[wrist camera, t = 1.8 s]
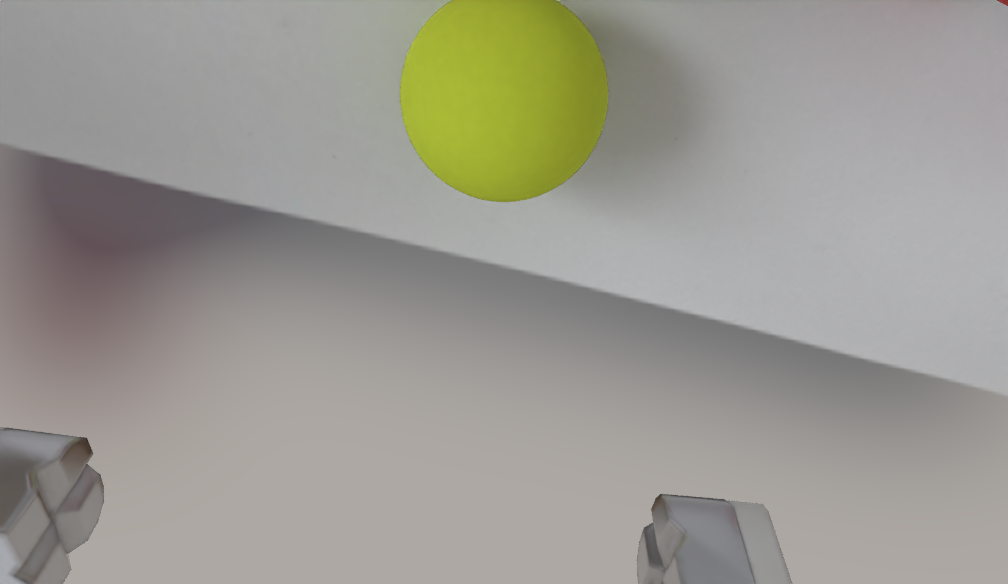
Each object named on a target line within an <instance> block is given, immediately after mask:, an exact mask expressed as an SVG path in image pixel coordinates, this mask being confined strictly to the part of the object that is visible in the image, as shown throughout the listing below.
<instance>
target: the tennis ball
mask: <svg viewBox="0 0 1008 584" xmlns="http://www.w3.org/2000/svg"><path fill="white" fill-rule="evenodd" d="M400 103H401V110H402V116H403V121H404V124H405V128H406V131H407V134H408V136H409V138H410V141H411V143H412V145H413V146H414V148H415V150H416V151H417V153H418V155H419V156H420V158H421V159H422V161H423V162H424V163H425V164H426V166H427V167H428V168H429V169H430V170H431V171H432V172H433V173H434V174H435V175H436V176H437V177H438V178H440V179H441V180H442V181H444V182H445V183H446V184H448V185H449V186H451V187H453V188H455V189H456V190H458V191H460V192H462V193H464V194H467V195H469V196H472V197H475V198H478V199H483V200H488V201H496V202H513V201H520V200H526V199H530V198H533V197H537V196H539V195H542V194H544V193H546V192H548V191H550V190H552V189H554V188H556V187H557V186H559V185H561V184H562V183H564V182H565V181H566V180H568V179H569V178H570V177H571V176H572V175H573V174H574V173H575V172H577V171H578V170H579V168H580V167H581V166H582V165H583V164H584V162H585V161H586V160H587V158H588V157H589V156H590V154H591V152H592V151H593V149H594V148H595V146H596V144H597V142H598V139H599V137H600V135H601V132H602V129H603V126H604V122H605V118H606V113H607V107H608V83H607V74H606V69H605V65H604V61H603V58H602V56H601V53H600V51H599V48H598V46H597V44H596V42H595V41H594V39H593V37H592V35H591V34H590V32H589V31H588V29H587V28H586V27H585V25H584V24H583V23H582V21H581V20H580V19H579V18H578V17H577V16H576V15H575V14H574V13H573V12H572V11H570V10H569V9H568V8H566V7H565V6H564V5H562V4H561V3H560V2H558V1H556V0H452V1H450V2H449V3H448V4H446V5H445V6H443V7H442V8H440V9H439V10H438V11H437V12H436V13H435V14H434V15H433V16H432V17H431V18H430V19H429V20H428V21H427V22H426V24H425V25H424V26H423V27H422V29H421V30H420V31H419V33H418V35H417V36H416V38H415V40H414V41H413V43H412V45H411V47H410V49H409V52H408V54H407V57H406V60H405V64H404V67H403V71H402V78H401V86H400Z"/></svg>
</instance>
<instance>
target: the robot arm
mask: <svg viewBox="0 0 1008 584" xmlns="http://www.w3.org/2000/svg"><path fill="white" fill-rule="evenodd" d="M92 455H93V452H92V449H91V447H90V445H89V442H88V440H87V438H84V437H75V436H68V435H60V434H52V433H44V432H36V431H28V430H20V429H13V428H4V427H0V584H63V583H64V581H65V579H66V577H67V576H68V574H69V572H70V571H71V565H70V560H69V555H68V553H70V552H71V551H73V550H74V549H76V548H77V547H79V546H80V545H82V544H83V543H85V542H86V541H88V539H89V537H90V535H91V534H92V532H93V530H94V528H95V526H96V524H97V523H98V520H99V517H100V513H101V509H102V505H103V502H104V485H103V482H102V479H101V475H100V474H99V473H97V472H96V471H95V470H94V469H92V468H91V467H90V466H89V465H88V464H87V463H88V461H89V459H90V458H91V456H92ZM651 510H652V516H653V523H651V524H650V525H648V526H646V527H645V528H644V529H643V532H642V535H641V539H640V541H639V547H638V555H637V576H638V584H792V581H791V578H790V575H789V572H788V569H787V566H786V563H785V560H784V557H783V554H782V551H781V548H780V545H779V542H778V539H777V536H776V533H775V530H774V527H773V524H772V521H771V518H770V515H769V512H768V510H767V509H766V508H765V507H764V505H763V504H757V503H747V502H736V501H726V500H724V499H713V498H701V497H689V496H678V495H665V494H660V495H659V496H658V497H657V498H656V499H655V502H654V504H653V506H652V509H651Z"/></svg>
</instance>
